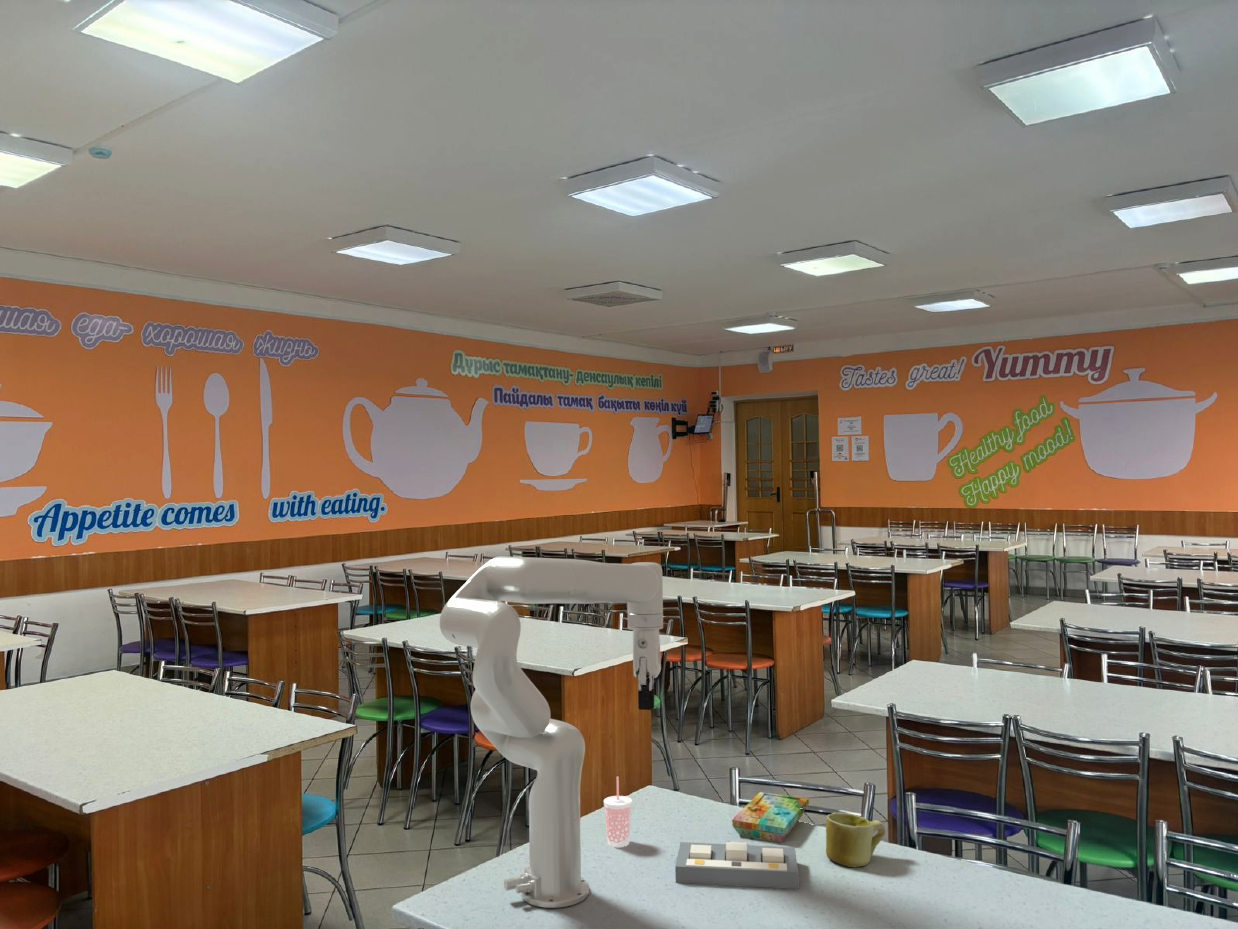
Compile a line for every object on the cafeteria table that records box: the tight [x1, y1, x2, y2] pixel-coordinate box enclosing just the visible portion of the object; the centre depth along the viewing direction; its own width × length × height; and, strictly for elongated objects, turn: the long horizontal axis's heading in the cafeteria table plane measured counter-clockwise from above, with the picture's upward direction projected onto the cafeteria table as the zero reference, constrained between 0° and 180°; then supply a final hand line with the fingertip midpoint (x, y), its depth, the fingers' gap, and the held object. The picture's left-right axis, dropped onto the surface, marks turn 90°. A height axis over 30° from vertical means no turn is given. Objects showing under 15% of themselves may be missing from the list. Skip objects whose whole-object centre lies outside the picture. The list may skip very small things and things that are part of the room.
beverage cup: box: [603, 776, 633, 849], centre depth 185 cm, size 6×6×14 cm
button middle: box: [725, 841, 748, 862], centre depth 170 cm, size 4×4×3 cm
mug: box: [825, 812, 886, 868], centre depth 175 cm, size 12×10×10 cm
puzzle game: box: [732, 791, 810, 843], centre depth 195 cm, size 12×5×20 cm
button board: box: [674, 841, 799, 890], centre depth 170 cm, size 12×23×3 cm, turn 81°
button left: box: [690, 845, 712, 860], centre depth 171 cm, size 4×4×3 cm
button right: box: [762, 848, 784, 863], centre depth 169 cm, size 4×4×3 cm
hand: (646, 708), depth 183 cm, fingers closed
